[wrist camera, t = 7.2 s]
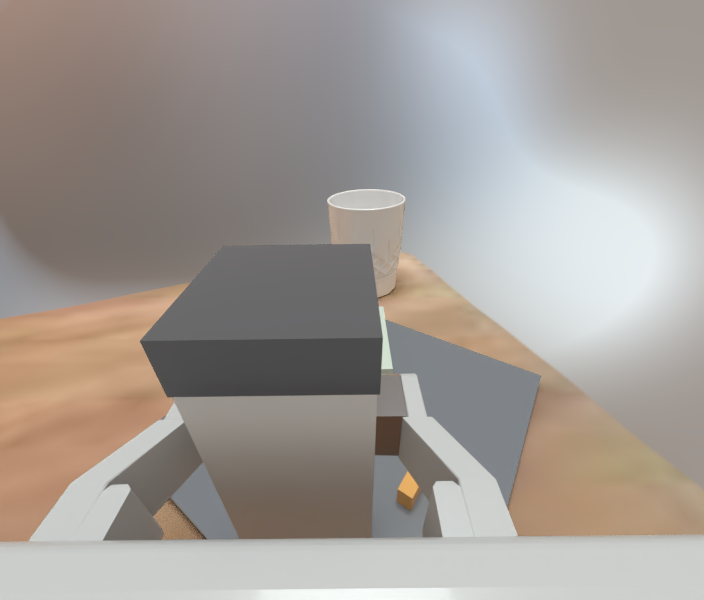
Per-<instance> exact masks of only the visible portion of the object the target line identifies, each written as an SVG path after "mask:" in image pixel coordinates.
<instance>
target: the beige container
mask: <svg viewBox="0 0 704 600" xmlns="http://www.w3.org/2000/svg"><path fill="white" fill-rule="evenodd" d="M140 342H141V344H142V346H143V348H144V350H145V352H146V355H147V357H148V359H149V361H150V363H151V365H152V367H153V369H154V371H155V373H156V375H157V377H158V379H159V381H160V383H161V385H162V387H163V389H164V391H165V393H166V395H167V397H172V398H173V400H174V402H175V404H176V406H177V408H178V410H179V413H180V415H181V417H182V419H183V421H184V423H185V425H186V427H187V429H188V431H189V434H190V436H191V438H192V440H193V442H194V444H195V446H196V448H197V450H198V452H199V455H200V457H201V459H202V461H203V463H204V465H205V467H206V469H207V471H208V473H209V476H210V478H211V480H212V482H213V484H214V486H215V488H216V490H217V492H218V494H219V496H220V499H221V501H222V503H223V505H224V507H225V509H226V511H227V513H228V515H229V517H230V520H231V522H232V524H233V526H234V528H235V530H236V532H237V534H238V536H239V538H240V539H302V538H371V535H372V511H373V486H374V462H375V438H376V413H377V395H380V387H381V366H382V346H383V335H382V327H381V320H380V313H379V305H378V298H377V290H376V283H375V275H374V268H373V261H372V253H371V246H370V244H326V245H325V244H322V245H321V244H320V245H259V246H258V245H255V246H223V247H222V248H221V249H220V250H219V252H218V253H217V254H216V255H215V256H214V257H213V258H212V259H211V261H210V262H209V263H208V264H207V265H206V266H205V267H204V269H203V270H202V271H201V272H200V273H199V274H198V275H197V277H196V278H195V279H194V280H193V281H192V282H191V283H190V285H189V286H188V287H187V288H186V289H185V290H184V291H183V292H182V294H181V295H180V296H179V297H178V298H177V299H176V300H175V302H174V303H173V304H172V305H171V306H170V307H169V308H168V310H167V311H166V312H165V313H164V314H163V315H162V316H161V318H160V319H159V320H158V321H157V322H156V323H155V324H154V326H153V327H152V328H151V329H150V330H149V331H148V332H147V333H146V335H145V336H144V337H143V338H142V339H141V340H140Z"/></svg>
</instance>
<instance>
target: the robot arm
mask: <svg viewBox="0 0 704 600" xmlns="http://www.w3.org/2000/svg"><path fill="white" fill-rule="evenodd" d="M375 455H384V456H398V457H399V459H400V460H401V462H402V463H403V465H404V466H405V467H406V469H407V470H408V472H409V473H410V475H411V476H412V478H413V479H414V480H415V482H416V483H417V485H418V486H419V488H420V489H421V490H422V492H423V493H424V495H425V496H426V498H427V499H428V501H429V504H428V508H427V512H426V517H425V521H424V525H423V529H422V534H423V537H407V538H302V539H197V540H162V537H163V535H164V533H163V530H162V528H161V527H160V525H159V524H158V523H157V522H156V520H155V519H154V518H153V516H154V515H155V514H156V513H157V511H158V510H159V509H160V508H161V507H162V506H163V505H164V504H165V503H166V502H167V501H168V500H169V499H170V497H171V496H172V495H173V494H174V493H175V492H176V491H177V490H178V489H179V488H180V487H181V486H182V485H183V483H184V482H185V481H186V480H187V479H188V478H189V477H190V476H191V475H192V474H193V473H194V472H195V471H196V469H197V468H198V467H199V466H200V465H201V464H202V463H203V461H202V459H201V457H200V455H199V452H198V450H197V448H196V446H195V444H194V442H193V440H192V438H191V436H190V434H189V431H188V429H187V427H186V425H185V423H184V421H183V419H182V417H181V415H180V413H179V410H178V408H177V406H176V404H175V402H174V403H173V405H172V407H171V408H170V410H169V412H168V413H167V415H166V417H165V418H164V420H158V421H157V422H155V423H154V424H152V425H151V426H150V427H148V428H147V429H146V430H144V431H143V432H141V433H140V434H139V435H137V436H136V437H134V438H133V439H132V440H130V441H129V442H127V443H126V444H125V445H123V446H122V447H121V448H119V449H118V450H116V451H115V452H114V453H112V454H111V455H109V456H108V457H107V458H105V459H104V460H102V461H101V462H100V463H98V464H97V465H96V466H94V467H93V468H91V469H90V470H89V471H87V472H86V473H84V474H83V475H82V476H80V477H79V478H77V479H76V480H75V481H73V482H72V483H71V484H70V485H69V486H68V488H67V489H66V491H65V492H64V493H63V495H62V496H61V497H60V499H59V500H58V501H57V503H56V504H55V506H54V507H53V508H52V510H51V511H50V512H49V514H48V515H47V516H46V518H45V519H44V520H43V522H42V523H41V525H40V526H39V527H38V529H37V530H36V531H35V533H34V534H33V535H32V537H31V538H30V540H29V541H0V600H704V535H609V536H518V535H517V533H516V530H515V528H514V525H513V522H512V520H511V517H510V515H509V512H508V509H507V507H506V504H505V501H504V499H503V496H502V494H501V491H500V488H499V486H498V483H497V481H496V479H495V478H494V477H493V476H492V475H491V474H490V473H489V472H488V471H487V470H486V469H485V468H484V467H483V466H482V465H481V464H480V463H479V462H478V461H477V460H476V459H475V458H474V457H473V456H472V455H471V454H470V453H469V452H468V451H467V450H466V449H465V448H463V447H462V446H461V445H460V444H459V443H458V442H457V441H456V440H455V439H454V438H453V437H452V436H451V435H450V434H449V433H448V432H447V431H446V430H445V429H444V428H443V427H442V426H441V425H440V424H439V423H438V422H437V421H436V420H435V419H434V418H433V417H427V414H426V410H425V406H424V401H423V397H422V393H421V389H420V385H419V381H418V377H417V375H416V374H415V373H413V374H381V387H380V395H377V413H376V438H375Z"/></svg>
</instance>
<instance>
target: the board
mask: <svg viewBox="0 0 704 600" xmlns="http://www.w3.org/2000/svg"><path fill="white" fill-rule="evenodd" d="M385 322H386V328H387V335H388V341H389V347H390V354H391V360H392V367H393V374H413V373H415V374H416V375H417V377H418V381H419V385H420V389H421V393H422V397H423V401H424V406H425V410H426V414H427V417H433V418H434V419H435V420H436V421H437V422H438V423H439V424H440V425H441V426H442V427H443V428H444V429H445V430H446V431H447V432H448V433H449V434H450V435H451V436H452V437H453V438H454V439H455V440H456V441H457V442H458V443H459V444H460V445H461V446H462V447H463V448H465V449H466V450H467V451H468V452H469V453H470V454H471V455H472V456H473V457H474V458H475V459H476V460H477V461H478V462H479V463H480V464H481V465H482V466H483V467H484V468H485V469H486V470H487V471H488V472H489V473H490V474H491V475H492V476H493V477H494V478H495V479H496V481H497V483H498V486H499V488H500V491H501V494H502V496H503V499H504V501H505V504H506V507H507V506H508V503H509V499H510V495H511V491H512V487H513V483H514V479H515V475H516V471H517V468H518V464H519V460H520V456H521V452H522V448H523V444H524V440H525V436H526V433H527V429H528V425H529V421H530V417H531V413H532V409H533V405H534V401H535V398H536V394H537V390H538V386H539V382H540V378H541V376H540V375H538V374H535V373H532V372H529V371H526V370H524V369H521V368H518V367H515V366H513V365H510V364H507V363H504V362H501V361H499V360H496V359H493V358H490V357H488V356H485V355H482V354H479V353H476V352H474V351H471V350H468V349H465V348H463V347H460V346H457V345H454V344H451V343H449V342H446V341H443V340H440V339H438V338H435V337H432V336H429V335H426V334H424V333H421V332H418V331H415V330H413V329H410V328H407V327H404V326H401V325H399V324H396V323H393V322H390V321H388V320H385ZM165 417H166V416H165ZM165 417H163V418H162V419H161V420H164V418H165ZM170 499H171V500H172V501H173V503H174V504H175V505H176V506H177V507H178V508H179V509H180V510H181V512H182V513H183V514H184V515H185V516H186V517H187V518H188V519H189V521H190V522H191V523H192V524H193V525H194V526H195V527H196V528H197V530H198V531H199V532H200V533H201V534H202V535H203V536H204V537H205V539H240V538H239V536H238V534H237V532H236V530H235V528H234V526H233V524H232V522H231V520H230V517H229V515H228V513H227V511H226V509H225V507H224V505H223V503H222V501H221V499H220V496H219V494H218V492H217V490H216V488H215V486H214V484H213V482H212V480H211V478H210V476H209V473H208V471H207V469H206V467H205V465H204V463H202V464H201V465H200V466H199V467H198V468H197V469H196V471H195V472H194V473H193V474H192V475H191V476H190V477H189V478H188V479H187V480H186V481H185V482H184V483H183V485H182V486H181V487H180V488H179V489H178V490H177V491H176V492H175V493H174V494H173V495H172V496H171V497H170ZM428 504H429V501H428V499H427V498H426V496H425V495H424V493H423V492H422V490H421V489H420V488H419V486H418V485H417V483H416V482H415V480H414V479H413V478H412V476H411V475H410V473H409V472H408V470H407V469H406V467H405V466H404V465H403V463H402V462H401V460H400V459H399V457H398V456H384V455H375V462H374V486H373V511H372V535H371V538H407V537H423V534H422V529H423V525H424V521H425V517H426V512H427V508H428Z"/></svg>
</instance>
